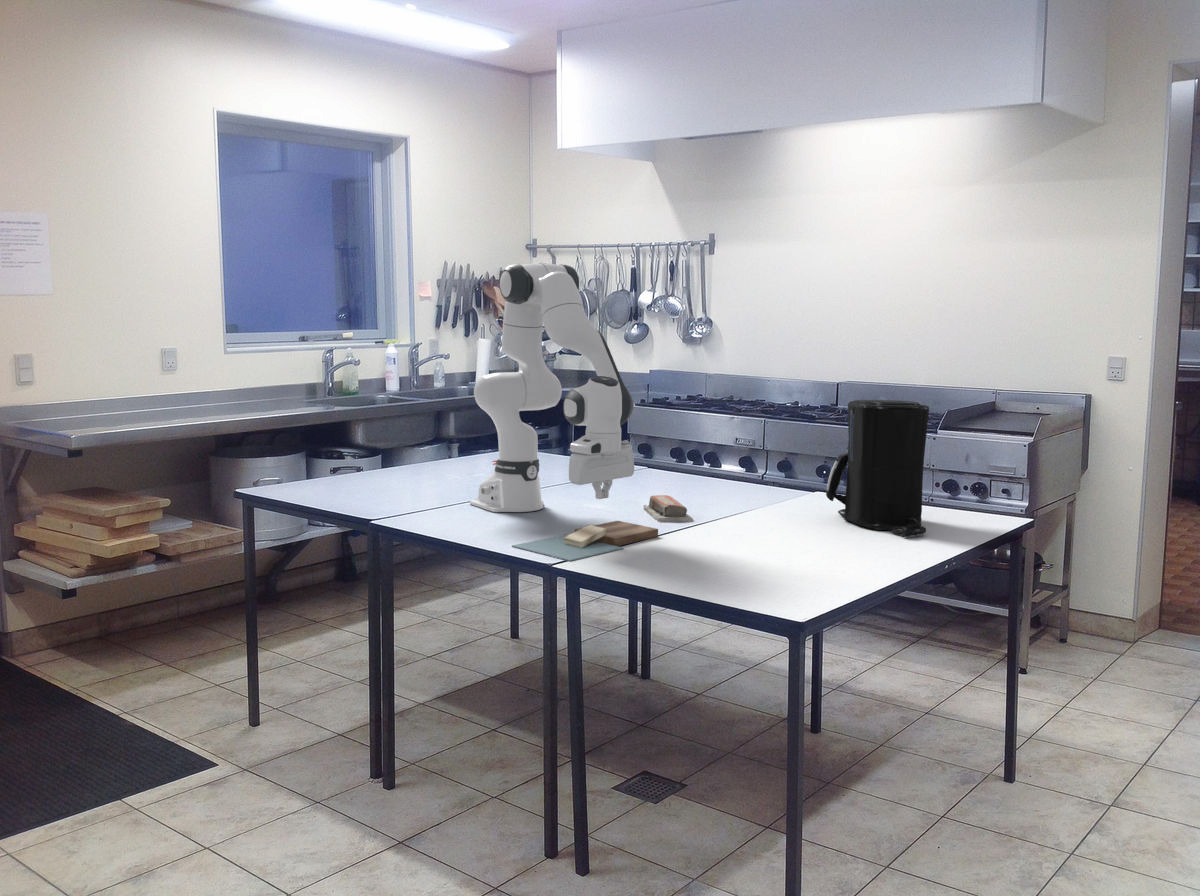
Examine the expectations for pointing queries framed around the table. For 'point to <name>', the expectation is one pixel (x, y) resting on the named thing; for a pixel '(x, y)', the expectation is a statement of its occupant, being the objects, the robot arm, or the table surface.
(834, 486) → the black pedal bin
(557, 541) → the rubber mat
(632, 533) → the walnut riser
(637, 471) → the table surface
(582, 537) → the birch block
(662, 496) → the packaged product
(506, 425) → the robot arm
